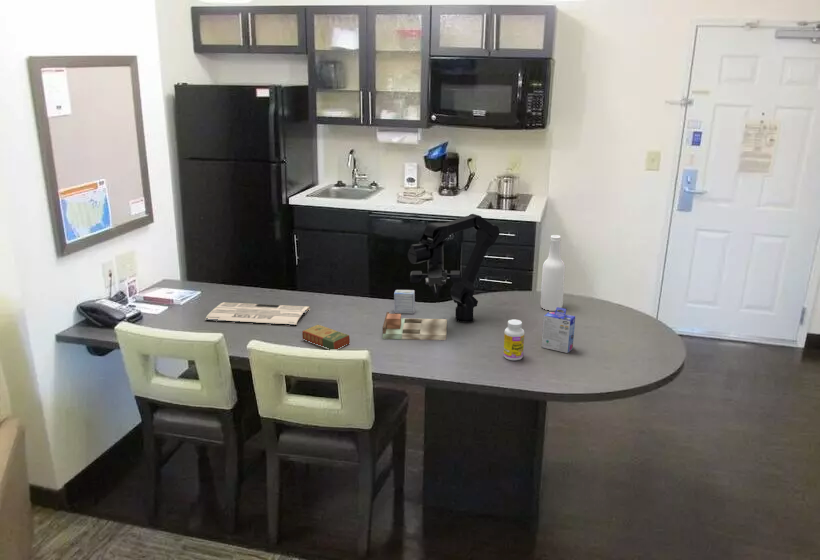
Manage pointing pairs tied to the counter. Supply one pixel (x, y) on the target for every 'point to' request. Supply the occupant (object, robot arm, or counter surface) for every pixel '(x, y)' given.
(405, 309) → the medicine box
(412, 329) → the trap board
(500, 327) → the counter surface
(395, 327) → the block
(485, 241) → the robot arm
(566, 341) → the ink cartridge box
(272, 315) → the newspaper
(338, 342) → the carton
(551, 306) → the alcohol
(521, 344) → the supplement bottle
